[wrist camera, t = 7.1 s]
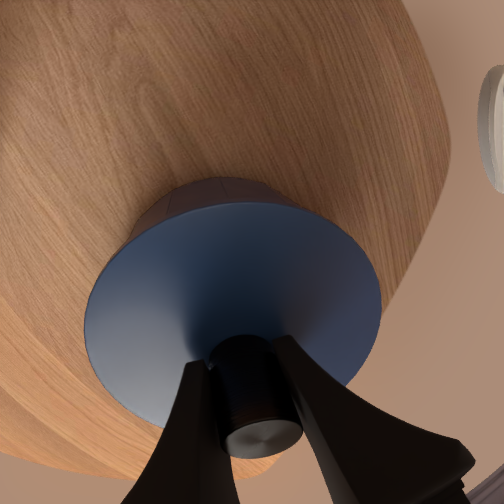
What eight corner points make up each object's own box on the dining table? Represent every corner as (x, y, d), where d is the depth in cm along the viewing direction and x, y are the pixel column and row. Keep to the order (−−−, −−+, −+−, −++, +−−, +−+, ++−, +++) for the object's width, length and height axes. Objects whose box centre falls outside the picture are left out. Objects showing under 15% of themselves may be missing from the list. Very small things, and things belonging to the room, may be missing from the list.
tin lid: (361, 159, 9) (465, 194, 5) (364, 379, 14) (405, 444, 10) (40, 250, 8) (-29, 334, 4) (161, 436, 13) (165, 511, 9)
